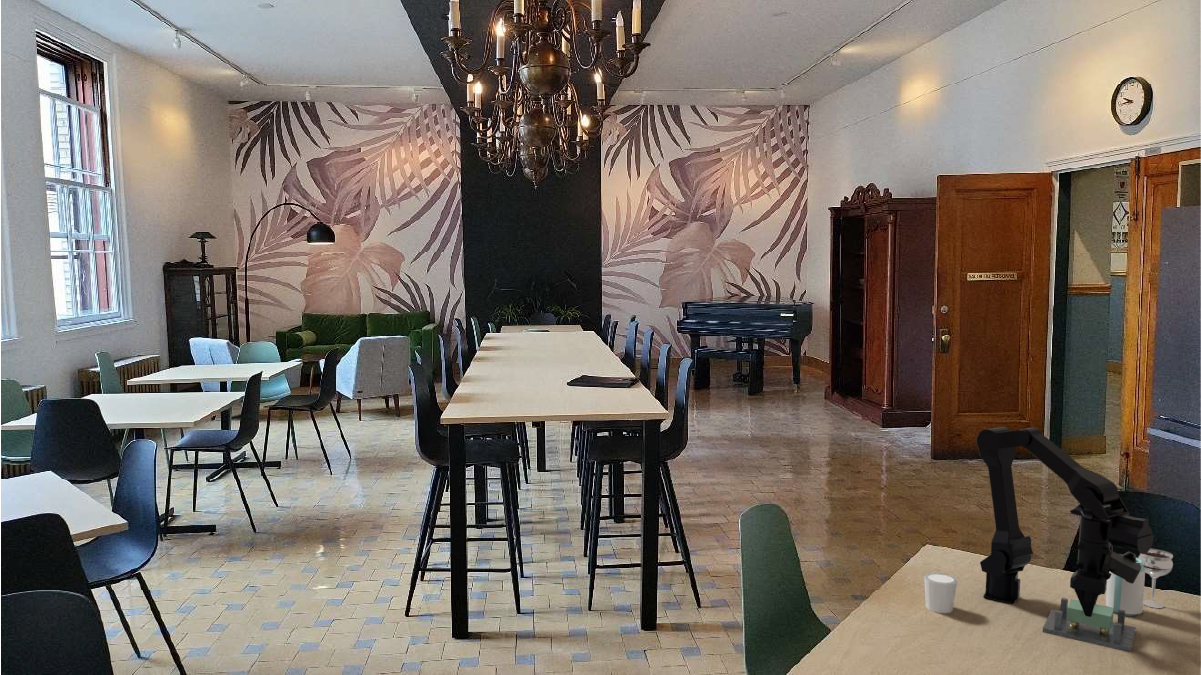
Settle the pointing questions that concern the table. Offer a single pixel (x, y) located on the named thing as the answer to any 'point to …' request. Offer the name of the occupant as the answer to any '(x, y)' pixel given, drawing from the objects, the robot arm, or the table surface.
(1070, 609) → the green rectangular block
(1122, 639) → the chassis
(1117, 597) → the can
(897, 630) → the table surface
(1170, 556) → the wineglass
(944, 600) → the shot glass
